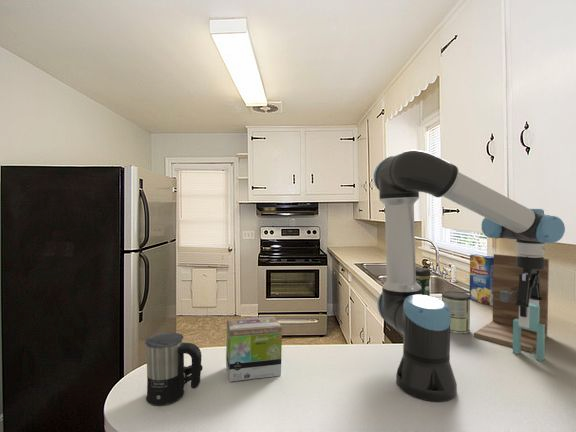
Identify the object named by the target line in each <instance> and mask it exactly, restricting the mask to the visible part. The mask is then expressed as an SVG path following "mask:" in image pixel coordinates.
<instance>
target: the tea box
mask: <svg viewBox="0 0 576 432" xmlns="http://www.w3.org/2000/svg"><path fill="white" fill-rule="evenodd" d="M282 341H283V327H282V325H281V324H280V322H279V321H278V320H277V318H276V317H275V316H261V317H260V316H259V317H247V318H233V319H232V318H231V319H227V320H226V349H225V350H226V352H225V353H226V354H225V357H226V358H225V361H226V362H225V366H226V371H227V375H228V381H229V383H231V382H237V381H244V380H245V381H247V380H252V379H253V380H255V379H261V378H262V379H264V378H273V377H274V376H277V377H281V376H282V375H281V374H282V343H283V342H282Z"/></svg>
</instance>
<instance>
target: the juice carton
mask: <svg viewBox="0 0 576 432" xmlns="http://www.w3.org/2000/svg"><path fill="white" fill-rule="evenodd" d="M493 262H494V255H488V254H482V253H480V254H479V253H478V254H470V255H469V293H468V294H469V295H470V301H474V302H476V303H480V304H484V305H487V306H493Z"/></svg>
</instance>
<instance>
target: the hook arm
mask: <svg viewBox="0 0 576 432" xmlns="http://www.w3.org/2000/svg"><path fill="white" fill-rule="evenodd" d="M517 296H518V288H517V287H514V288H512V289H510V290H508V291H500V301H501V302H507V303H508V302H509V301H511V300H513V299H515V298H517Z"/></svg>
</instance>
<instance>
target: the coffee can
mask: <svg viewBox="0 0 576 432" xmlns="http://www.w3.org/2000/svg"><path fill="white" fill-rule="evenodd" d="M441 301H443V302H444V303H446V304H447V306H448V307H449V309H450V317H451V324H450V333H454V334H463V333H464V334H468V333H470V332H471V330H470V328H471V327H470V323H471V317H470V316H471V312H470V311H471V300H470V295H469V293H465V292H461V291H456V290H455V291H453V290H452V291H451V290H449V291H448V290H447V291H443V292H441ZM464 334H463V335H464Z"/></svg>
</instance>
